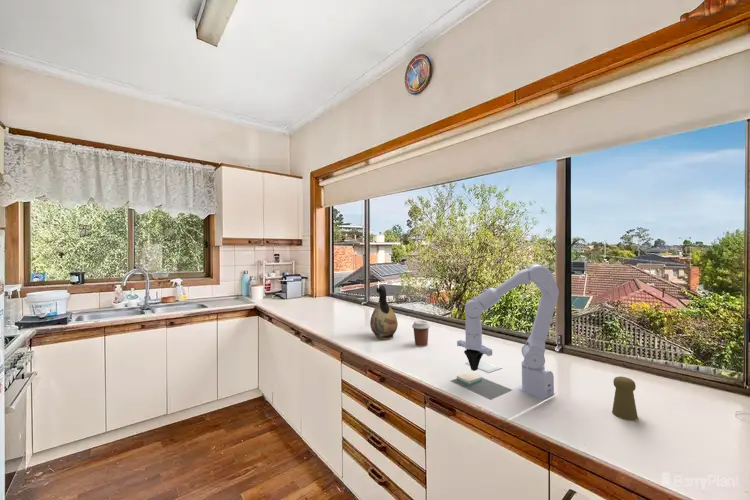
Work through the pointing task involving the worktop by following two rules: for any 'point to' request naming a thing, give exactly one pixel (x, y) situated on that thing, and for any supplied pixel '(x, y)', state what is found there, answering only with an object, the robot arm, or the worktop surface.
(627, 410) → the olive green pepper mill
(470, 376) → the tile
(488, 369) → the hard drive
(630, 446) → the worktop surface
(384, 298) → the ceramic jug
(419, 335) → the coffee cup
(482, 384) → the mat
